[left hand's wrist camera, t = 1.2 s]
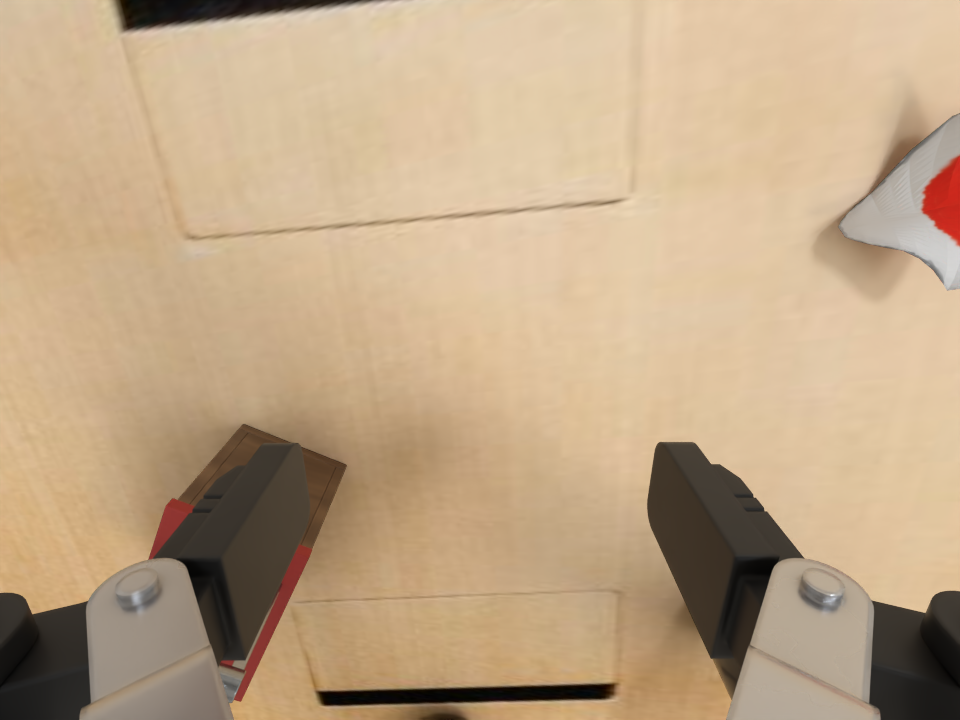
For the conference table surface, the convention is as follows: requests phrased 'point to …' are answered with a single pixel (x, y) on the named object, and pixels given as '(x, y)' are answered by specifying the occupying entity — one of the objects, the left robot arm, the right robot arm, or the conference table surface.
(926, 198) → the fish
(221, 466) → the chest
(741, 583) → the left robot arm
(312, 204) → the conference table surface
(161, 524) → the lid
